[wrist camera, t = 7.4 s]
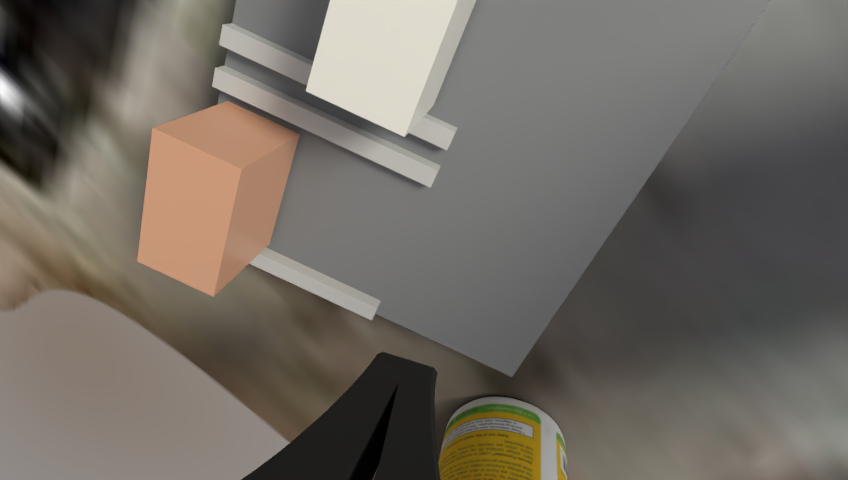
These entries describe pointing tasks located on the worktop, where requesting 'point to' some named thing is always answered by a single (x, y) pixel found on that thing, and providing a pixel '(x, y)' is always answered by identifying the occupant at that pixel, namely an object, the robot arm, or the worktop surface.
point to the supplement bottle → (502, 443)
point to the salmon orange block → (213, 194)
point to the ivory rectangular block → (387, 57)
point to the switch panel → (478, 157)
